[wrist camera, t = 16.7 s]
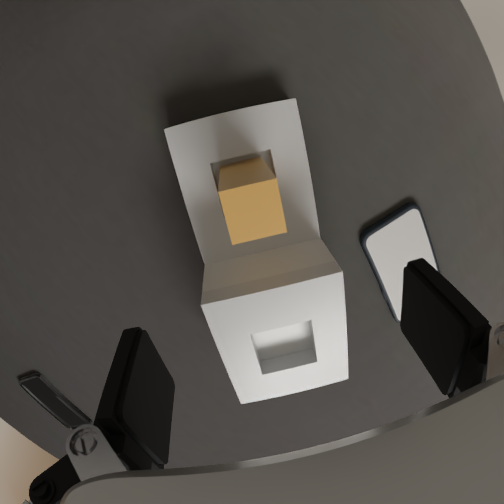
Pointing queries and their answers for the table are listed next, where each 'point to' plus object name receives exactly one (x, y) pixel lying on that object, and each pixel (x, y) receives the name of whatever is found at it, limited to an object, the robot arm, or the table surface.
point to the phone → (53, 401)
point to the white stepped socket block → (263, 257)
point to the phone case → (397, 251)
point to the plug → (250, 200)
